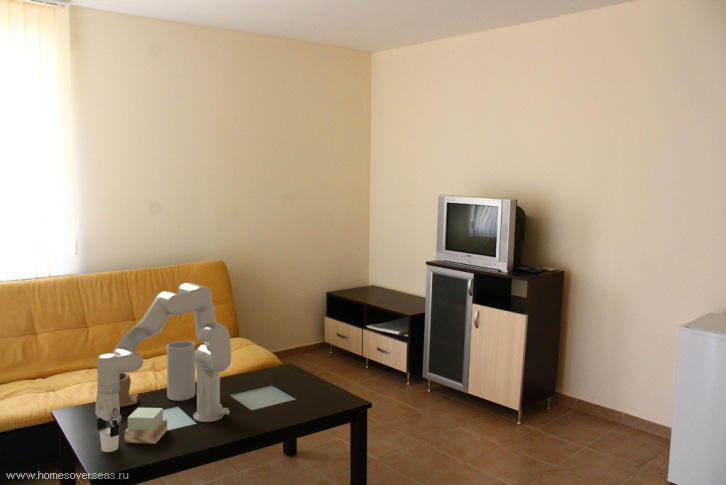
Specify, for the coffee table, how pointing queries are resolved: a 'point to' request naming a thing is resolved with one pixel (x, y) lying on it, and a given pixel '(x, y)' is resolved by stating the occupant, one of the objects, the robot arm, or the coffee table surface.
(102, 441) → the shot glass
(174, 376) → the cylinder vase
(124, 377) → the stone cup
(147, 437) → the oak base block
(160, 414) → the sage top block
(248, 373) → the coffee table surface
